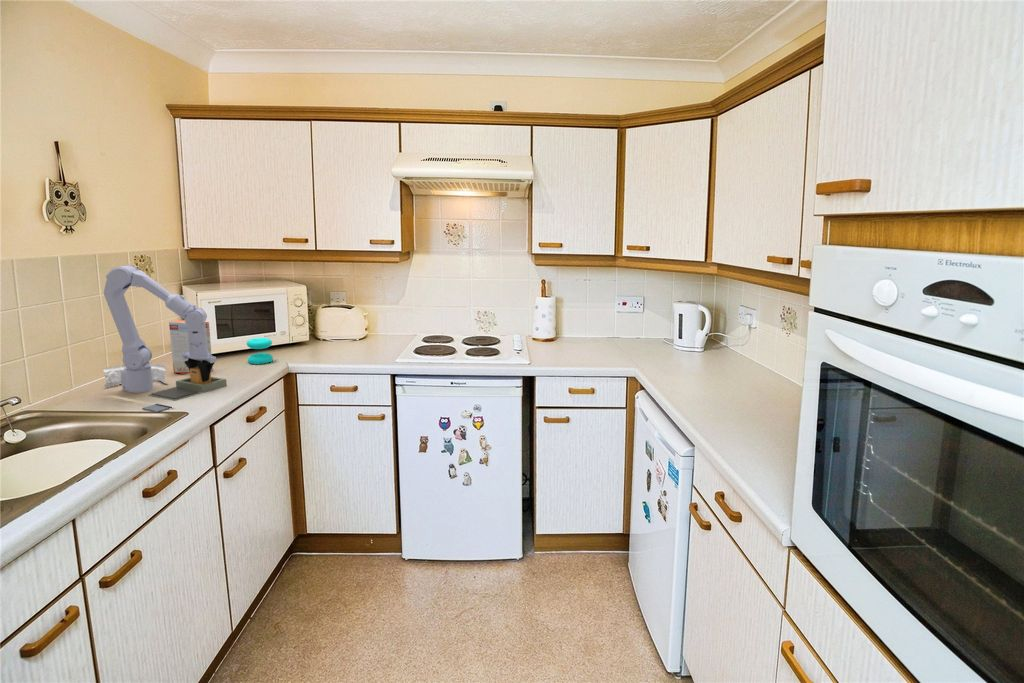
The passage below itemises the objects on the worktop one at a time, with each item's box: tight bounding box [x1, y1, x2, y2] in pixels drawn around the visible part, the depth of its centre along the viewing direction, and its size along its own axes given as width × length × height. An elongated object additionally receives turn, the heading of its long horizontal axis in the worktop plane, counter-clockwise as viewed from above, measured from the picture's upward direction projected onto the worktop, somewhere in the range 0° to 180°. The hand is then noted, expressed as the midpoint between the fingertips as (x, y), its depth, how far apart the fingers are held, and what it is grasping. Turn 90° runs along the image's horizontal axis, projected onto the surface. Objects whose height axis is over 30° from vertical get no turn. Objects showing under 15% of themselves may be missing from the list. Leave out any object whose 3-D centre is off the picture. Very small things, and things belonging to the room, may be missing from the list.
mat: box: [141, 403, 173, 413], centre depth 185 cm, size 7×8×1 cm
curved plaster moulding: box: [102, 363, 168, 389], centre depth 207 cm, size 11×20×8 cm, turn 119°
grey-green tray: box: [148, 376, 228, 402], centre depth 201 cm, size 13×20×4 cm, turn 157°
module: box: [189, 366, 212, 385], centre depth 205 cm, size 4×5×7 cm
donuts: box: [246, 337, 274, 365], centre depth 246 cm, size 10×10×10 cm
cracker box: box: [168, 319, 214, 375], centre depth 225 cm, size 14×6×21 cm, turn 74°
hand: (201, 380), depth 205 cm, fingers closed on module, 4 cm apart
